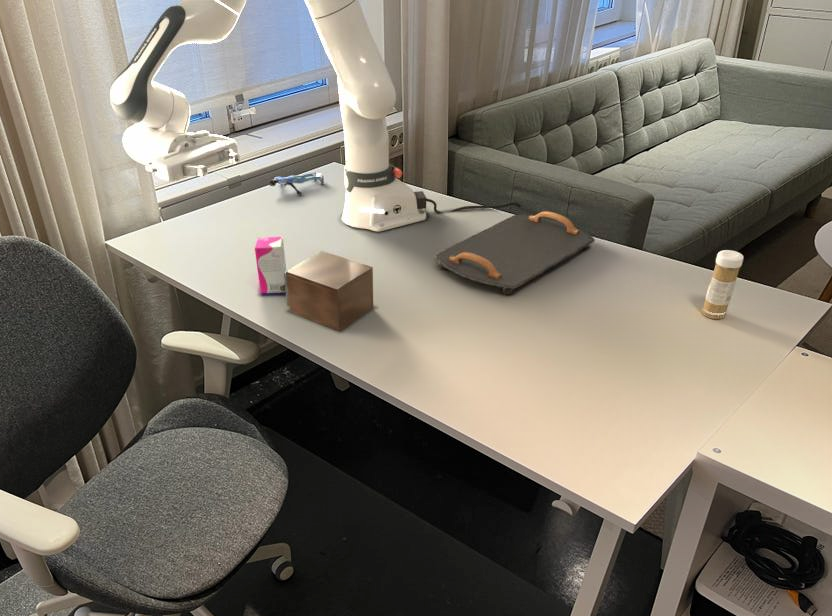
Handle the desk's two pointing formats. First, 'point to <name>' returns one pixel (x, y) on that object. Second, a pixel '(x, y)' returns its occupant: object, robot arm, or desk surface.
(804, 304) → the desk surface
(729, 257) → the sprinkles bottle
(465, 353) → the desk surface
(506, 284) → the serving tray
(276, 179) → the person figurine
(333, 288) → the cabinet
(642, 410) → the desk surface
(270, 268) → the supplement box
